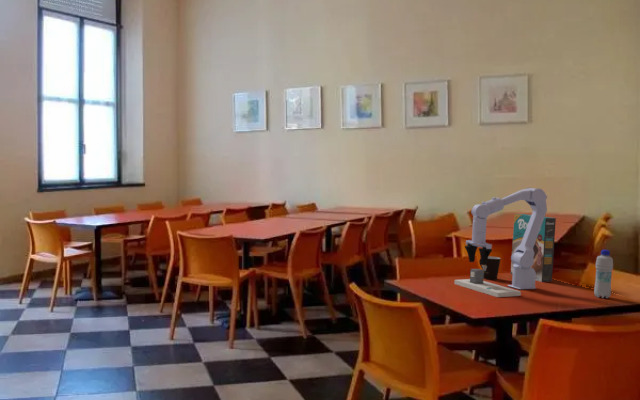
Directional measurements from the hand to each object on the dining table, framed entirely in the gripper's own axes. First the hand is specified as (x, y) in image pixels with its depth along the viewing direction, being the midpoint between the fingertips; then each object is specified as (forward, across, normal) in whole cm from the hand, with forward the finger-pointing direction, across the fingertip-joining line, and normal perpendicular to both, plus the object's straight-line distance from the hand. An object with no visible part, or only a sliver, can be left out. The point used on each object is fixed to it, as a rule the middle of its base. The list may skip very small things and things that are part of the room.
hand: (477, 263), depth 267 cm
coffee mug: (+11, -17, +22) cm, 29 cm away
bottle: (+11, +31, +40) cm, 52 cm away
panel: (+10, +6, 0) cm, 12 cm away
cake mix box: (+11, -14, +44) cm, 48 cm away
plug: (+10, 0, 0) cm, 10 cm away
